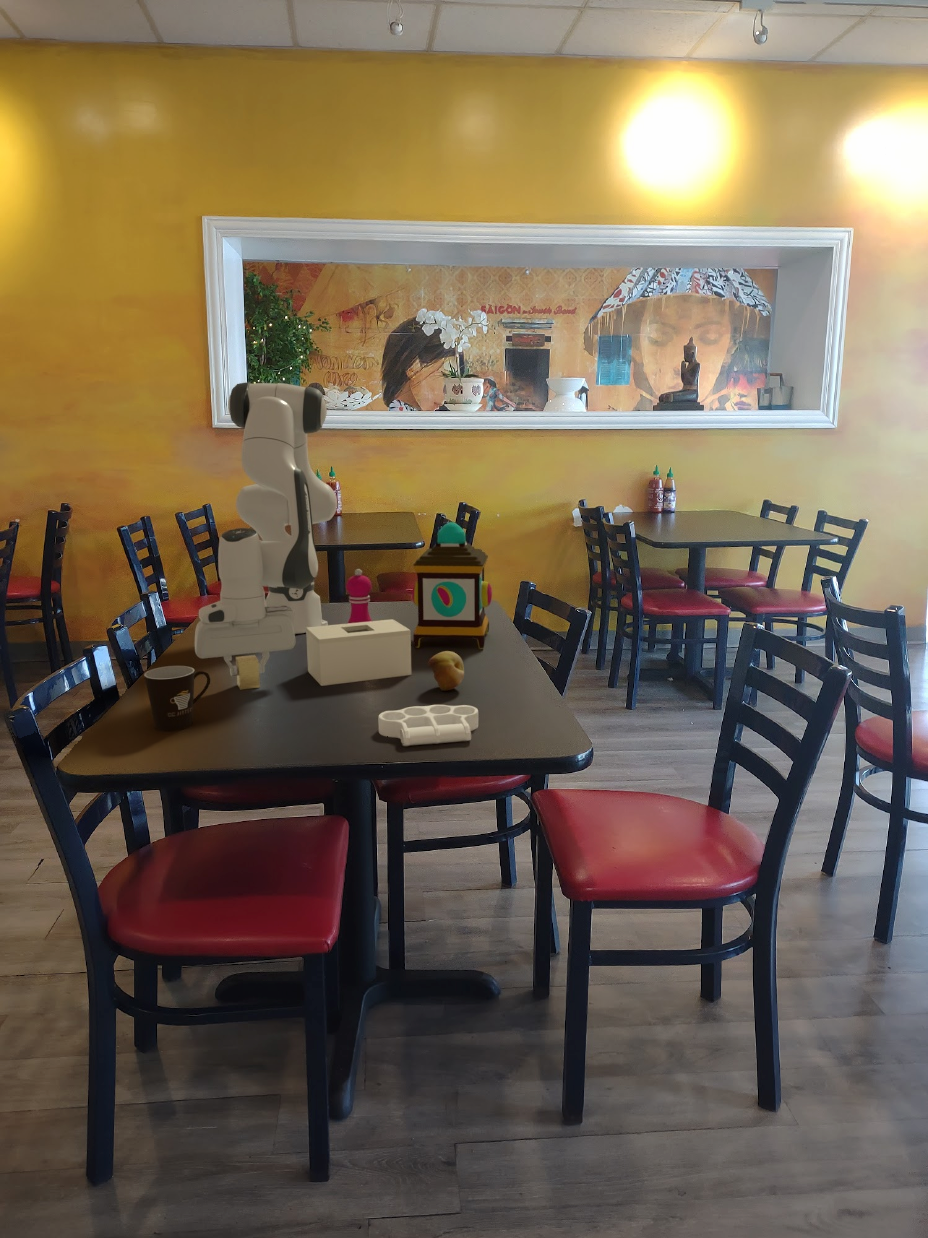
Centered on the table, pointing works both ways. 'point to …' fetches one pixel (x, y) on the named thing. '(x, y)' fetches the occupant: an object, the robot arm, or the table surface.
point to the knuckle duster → (429, 724)
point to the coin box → (358, 651)
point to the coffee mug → (173, 696)
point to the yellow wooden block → (248, 672)
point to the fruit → (447, 669)
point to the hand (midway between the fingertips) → (247, 673)
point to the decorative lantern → (451, 589)
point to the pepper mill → (359, 597)
